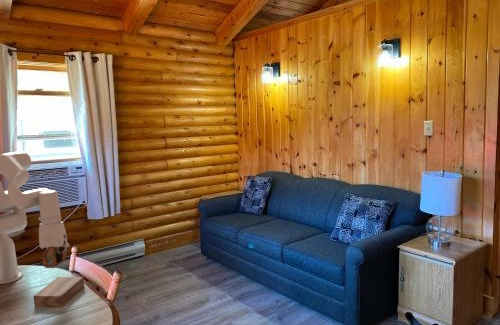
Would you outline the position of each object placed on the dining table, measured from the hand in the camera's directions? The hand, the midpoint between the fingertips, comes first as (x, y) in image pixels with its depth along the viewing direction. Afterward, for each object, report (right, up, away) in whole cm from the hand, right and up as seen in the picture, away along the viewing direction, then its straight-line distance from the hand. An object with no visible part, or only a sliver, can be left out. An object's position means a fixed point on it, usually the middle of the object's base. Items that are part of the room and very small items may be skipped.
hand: (56, 261), depth 172 cm
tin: (0, -2, 0) cm, 1 cm away
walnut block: (+1, -16, +2) cm, 16 cm away
